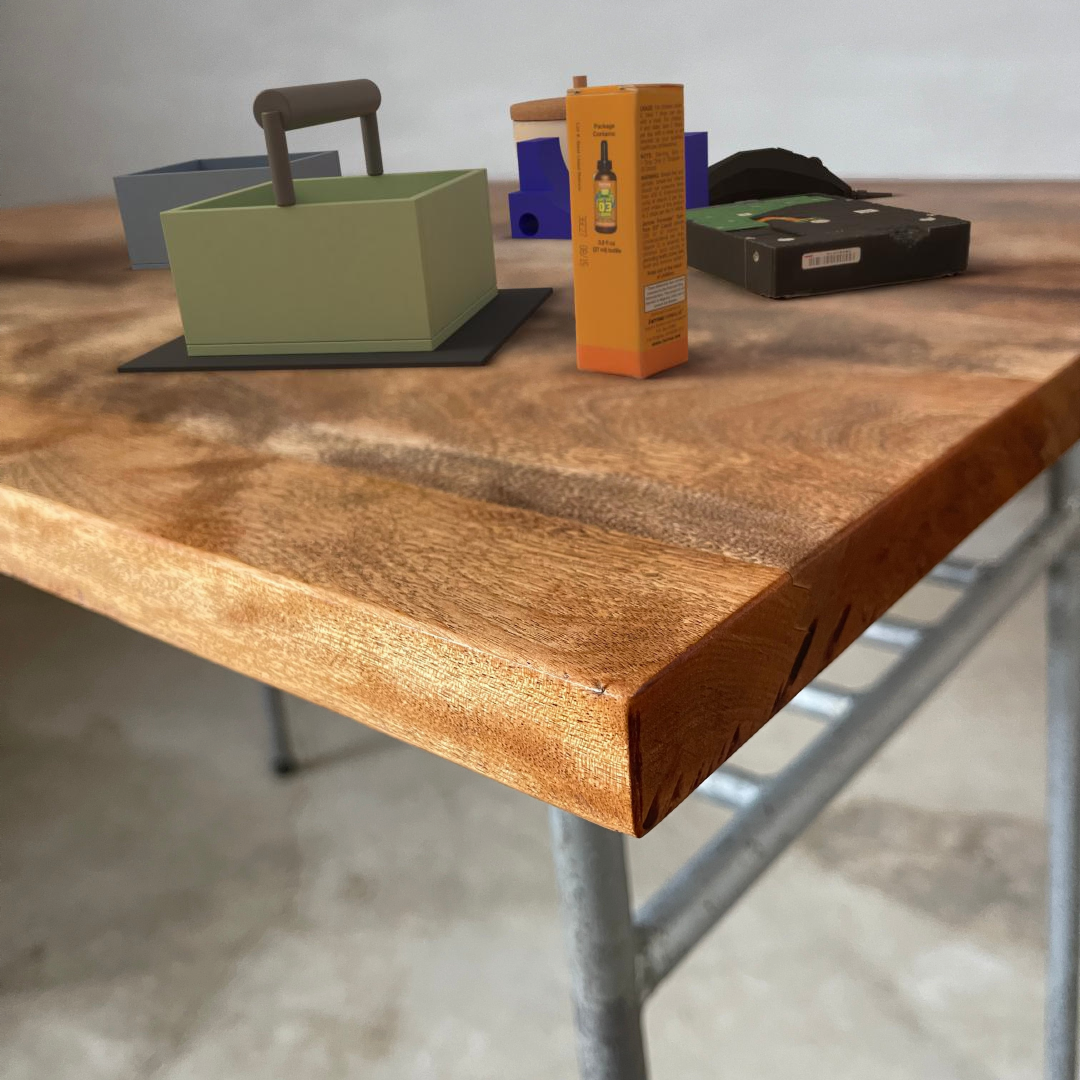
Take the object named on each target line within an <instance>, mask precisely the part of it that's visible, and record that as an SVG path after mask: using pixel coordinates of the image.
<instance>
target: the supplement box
mask: <svg viewBox="0 0 1080 1080" xmlns="http://www.w3.org/2000/svg"><path fill="white" fill-rule="evenodd" d="M565 92H566V94H565V97H566V119H567V137H568V157H569V178H570V202H571V225H572V239H571V243H572V244H571V247H572V248H571V249H572V266H573V267H572V268H573V269H572V270H573V272H572V273H573V291H574V293H573V294H574V315H575V337H576V338H575V340H576V341H575V343H576V345H575V346H576V351H575V352H576V367H577V369H578V371H581V372H582V371H583V372H590V373H597V374H604V375H613V376H619V377H626V378H631V379H637V380H645V379H648V378H650V377H652V376H654V375H657V374H658V373H661V372H664V371H666V370H668V369H671V368H673V367H675V366H678V365H680V364H683V363H685V362H687V361H689V319H688V318H689V315H688V314H689V313H688V312H689V311H688V308H689V307H688V267H687V249H686V196H685V194H686V187H685V137H684V132H685V99H684V98H685V84H683V83H670V82H668V83H667V82H666V83H663V82H661V83H660V82H659V83H633V84H632V83H630V84H629V83H628V84H609V85H597V86H587V87H584V88H568V89H566V90H565Z"/></svg>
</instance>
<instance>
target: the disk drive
mask: <svg viewBox="0 0 1080 1080" xmlns="http://www.w3.org/2000/svg"><path fill="white" fill-rule="evenodd" d="M971 230H972V222H971V220H966V219H961V218H960V217H959V218H958V217H957V216H949V215H943V214H934V213H931V212H925V211H918V210H915V209H910V208H903V207H897V206H893V205H886V204H885V205H884V204H882V203H877V202H872V201H868V200H867V201H866V200H862V199H855V198H854V199H850V198H845V197H840V196H837V195H833V196H830V195H827V194H821V193H808V194H801V195H794V196H793V195H792V196H784V197H774V198H767V199H761V200H747V201H739V202H735V203H732V204H724V205H717V206H710V207H702V208H694V209H686V249H687V269H690V270H692V271H696V272H698V273H701V274H704V275H707V276H710V277H713V278H715V279H716V280H718V281H722V282H724V283H726V284H730V285H732V286H735V287H737V288H740V289H742V290H745V291H748V292H751V293H754V294H758V295H759V296H764V297H767V298H768V299H769V298H773V299H776V298H783V299H792V298H794V297H808V296H815V295H825V294H830V293H831V294H832V293H837V292H843V291H844V292H845V291H852V290H861V289H866V288H872V287H880V286H886V285H887V286H888V285H896V284H905V283H910V282H919V281H923V280H931V279H938V278H939V279H940V278H942V277H944V276H948V277H953V276H954V274H956V273H963V272H966V271H969V257H970V247H971Z"/></svg>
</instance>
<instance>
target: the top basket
mask: <svg viewBox="0 0 1080 1080" xmlns="http://www.w3.org/2000/svg"><path fill="white" fill-rule="evenodd" d="M381 103H382V93H381V90H380V88H379V86H378V85H377V84H376V83H375V82H374V81H373V80H370V79H369V78H358V79H357V78H355V79H349V80H339V81H338V80H337V81H330V82H320V83H311V84H302V85H294V86H293V85H292V86H283V87H276V88H275V87H274V88H266V89H263V90H261V91H260V92H258V94H257V95H256V96H255V98H254V101H253V103H252V113H253V118H254V120H255V123H256V124H257V125H258V126H259V127H260V128H261V129H262V130H263V135H264V140H265V148H266V152H267V155H268V160H269V166H270V172H271V178H272V181H270V182H266V183H263V184H259V185H256V186H252V187H249V188H245V189H241V190H238V191H234V192H231V193H227V194H224V195H220V196H217V197H213V198H210V199H206V200H203V201H199V202H196V203H192V204H189V205H185V206H182V207H178V208H175V209H171V210H167V211H164V212H161V213H160V217H161V222H162V227H163V232H164V237H165V242H166V247H167V252H168V257H169V262H170V266H171V268H170V271H171V276H172V281H173V286H174V291H175V295H176V301H177V305H178V309H179V316H180V320H181V325H182V331H183V335H185V340H186V344H187V350H188V355H189V356H236V355H284V354H332V353H381V352H429V351H434V350H435V349H436V348H437V347H438V346H439V345H440V344H442V343H443V342H444V341H445V340H446V339H447V338H449V337H450V336H451V335H452V334H453V333H454V332H455V331H457V330H458V329H459V328H460V327H461V326H462V325H463V324H465V323H466V322H467V321H468V320H469V319H470V318H471V317H473V316H474V315H475V314H476V313H477V312H478V311H480V310H481V309H482V308H483V307H484V306H485V305H486V304H488V303H489V302H490V301H491V300H492V299H493V298H494V297H496V296H497V295H498V290H497V289H498V281H497V269H496V257H495V246H494V236H493V235H494V234H493V224H492V212H491V201H490V192H489V189H490V188H489V178H488V169H487V168H486V167H481V168H465V169H463V168H462V169H448V170H447V169H446V170H430V171H414V172H413V171H411V172H410V171H409V172H395V173H394V172H393V173H385V172H384V164H383V154H382V147H381V139H380V132H379V124H378V122H379V121H378V116H377V114H378V113H377V111H378V110H379V109H380V107H381ZM357 118H359V122H360V129H361V130H360V131H361V138H362V146H363V153H364V161H365V166H366V167H365V168H366V174H362V175H361V174H359V175H343V176H342V177H324V178H307V179H292V173H291V166H290V160H289V153H290V152H289V149H288V141H287V134H286V132H289V131H290V132H291V131H295V130H300V129H305V128H311V127H316V126H321V125H326V124H330V123H335V122H336V123H337V122H341V121H342V122H343V121H347V120H351V119H357Z"/></svg>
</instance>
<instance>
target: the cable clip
mask: <svg viewBox="0 0 1080 1080" xmlns="http://www.w3.org/2000/svg"><path fill="white" fill-rule="evenodd" d="M684 137H685V187H686V194H685V196H686V209H694V208H702V207H709V193H708V167H709V131H684ZM516 144H517V154H516V158H517V157H518V159H517V168H518V169H517V170H518V181H519V190H517V191H513V192H510V193H508V194H507V196H508V208H509V209H508V210H509V221H510V233H511V239H514V240H515V239H518V240H520V239H521V240H522V239H524V240H525V239H526V240H527V239H528V240H572V225H571V202H570V178H569V171H568V169H567V167H566V164H565V162H564V159H563V156H562V152H561V147H560V140H559V137H545V138H536V139H531V140H526V141H520V142H516Z"/></svg>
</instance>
